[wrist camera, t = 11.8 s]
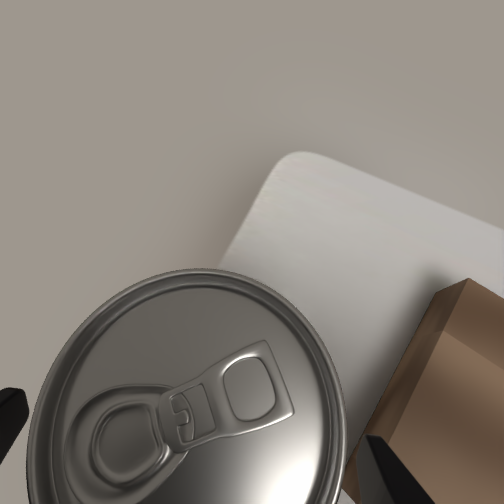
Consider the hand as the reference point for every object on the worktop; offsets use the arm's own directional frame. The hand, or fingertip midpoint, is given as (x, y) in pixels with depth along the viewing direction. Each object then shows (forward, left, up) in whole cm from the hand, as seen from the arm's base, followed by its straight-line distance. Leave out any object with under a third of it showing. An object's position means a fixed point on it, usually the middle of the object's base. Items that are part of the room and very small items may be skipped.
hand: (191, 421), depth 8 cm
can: (+1, 0, -9) cm, 9 cm away
